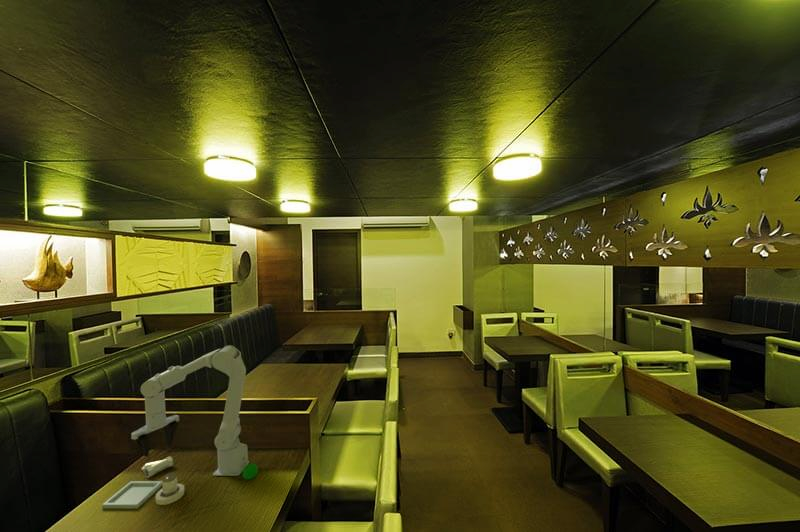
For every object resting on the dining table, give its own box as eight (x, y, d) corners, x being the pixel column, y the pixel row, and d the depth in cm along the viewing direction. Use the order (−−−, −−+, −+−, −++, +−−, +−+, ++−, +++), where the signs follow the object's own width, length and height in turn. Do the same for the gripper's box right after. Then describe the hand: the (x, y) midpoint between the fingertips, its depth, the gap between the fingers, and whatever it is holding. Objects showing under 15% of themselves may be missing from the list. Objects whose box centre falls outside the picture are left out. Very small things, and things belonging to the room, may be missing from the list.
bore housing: (189, 488, 115) (189, 483, 115) (173, 504, 107) (173, 499, 107) (167, 488, 115) (166, 483, 115) (150, 504, 108) (149, 499, 108)
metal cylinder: (180, 492, 113) (179, 472, 113) (172, 500, 109) (171, 480, 109) (168, 492, 113) (167, 472, 113) (159, 500, 109) (158, 480, 109)
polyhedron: (243, 475, 121) (242, 462, 121) (258, 472, 123) (257, 459, 123) (242, 484, 117) (241, 470, 116) (257, 480, 118) (257, 467, 118)
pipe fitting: (139, 475, 124) (149, 479, 120) (138, 464, 124) (148, 468, 120) (163, 463, 131) (173, 467, 127) (162, 453, 131) (172, 456, 127)
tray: (162, 485, 117) (162, 481, 117) (137, 508, 106) (137, 504, 106) (131, 485, 117) (130, 481, 117) (102, 509, 106) (102, 504, 106)
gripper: (170, 401, 129) (172, 437, 130) (125, 418, 116) (127, 458, 117) (181, 404, 126) (183, 441, 126) (137, 422, 113) (139, 463, 113)
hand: (157, 449), depth 121 cm, fingers open, 7 cm apart
